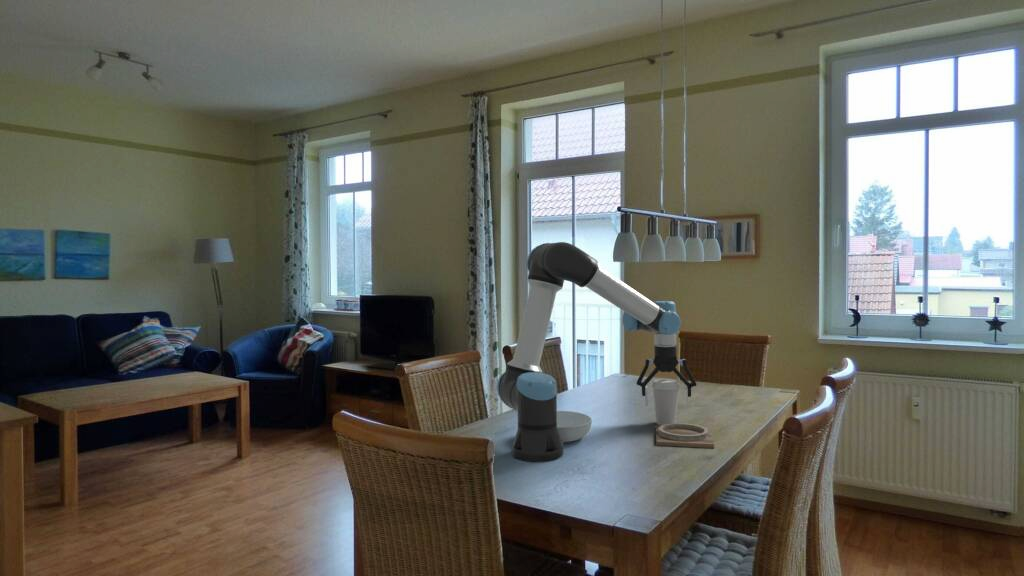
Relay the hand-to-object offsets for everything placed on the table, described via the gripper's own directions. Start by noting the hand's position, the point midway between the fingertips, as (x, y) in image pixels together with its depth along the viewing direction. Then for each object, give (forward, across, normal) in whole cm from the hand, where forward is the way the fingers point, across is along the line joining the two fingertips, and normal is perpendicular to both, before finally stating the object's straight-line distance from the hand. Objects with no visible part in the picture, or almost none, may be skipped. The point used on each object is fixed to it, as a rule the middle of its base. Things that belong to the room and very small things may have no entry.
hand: (666, 405), depth 212 cm
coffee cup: (+7, 0, 0) cm, 7 cm away
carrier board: (+6, -5, +17) cm, 19 cm away
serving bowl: (+6, +34, +25) cm, 43 cm away
